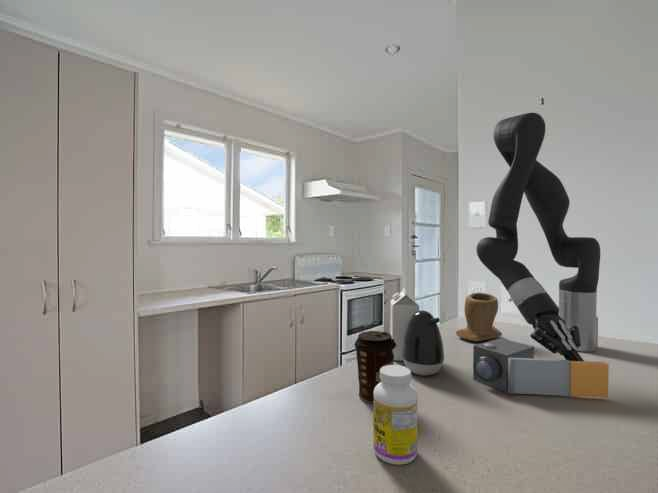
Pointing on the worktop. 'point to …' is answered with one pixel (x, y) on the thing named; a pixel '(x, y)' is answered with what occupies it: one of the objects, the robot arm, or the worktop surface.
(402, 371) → the supplement bottle
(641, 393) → the worktop surface
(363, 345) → the coffee cup
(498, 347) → the camera body
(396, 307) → the milk carton
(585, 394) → the grey and orange bar
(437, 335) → the pump dispenser
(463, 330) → the clay pot
